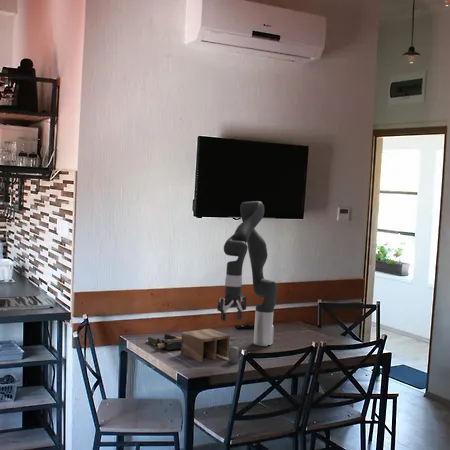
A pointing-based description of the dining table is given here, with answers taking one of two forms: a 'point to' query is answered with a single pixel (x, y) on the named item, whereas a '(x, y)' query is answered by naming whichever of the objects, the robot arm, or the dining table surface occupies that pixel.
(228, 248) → the robot arm
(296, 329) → the dining table surface
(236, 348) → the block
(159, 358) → the dining table surface
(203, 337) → the shelf
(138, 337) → the dining table surface
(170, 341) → the submachine gun
